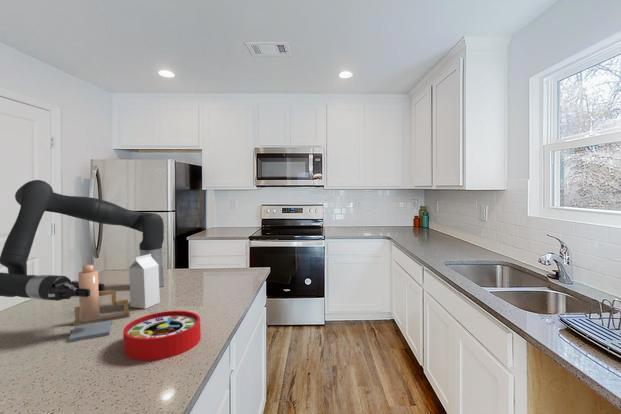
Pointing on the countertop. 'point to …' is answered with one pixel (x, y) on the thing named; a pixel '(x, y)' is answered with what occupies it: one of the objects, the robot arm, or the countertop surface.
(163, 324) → the toy clock
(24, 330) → the countertop surface
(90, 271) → the peach bottle
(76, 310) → the golden stepped frame
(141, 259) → the milk carton
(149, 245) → the robot arm
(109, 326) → the pad
